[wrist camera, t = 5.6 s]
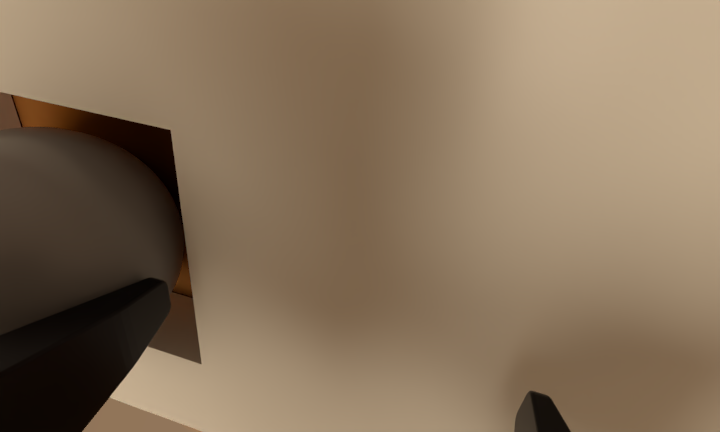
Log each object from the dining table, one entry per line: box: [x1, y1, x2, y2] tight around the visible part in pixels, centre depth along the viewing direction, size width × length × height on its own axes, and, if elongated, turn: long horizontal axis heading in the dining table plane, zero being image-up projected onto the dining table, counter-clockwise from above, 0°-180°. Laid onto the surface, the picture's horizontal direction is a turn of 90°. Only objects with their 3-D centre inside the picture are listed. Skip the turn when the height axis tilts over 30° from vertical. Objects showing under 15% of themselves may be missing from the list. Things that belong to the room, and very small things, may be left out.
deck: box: [0, 0, 720, 432], centre depth 12 cm, size 16×24×2 cm, turn 84°
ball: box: [0, 127, 184, 335], centre depth 11 cm, size 6×6×6 cm
